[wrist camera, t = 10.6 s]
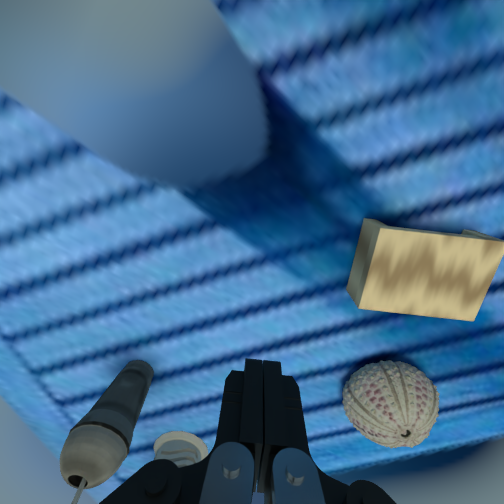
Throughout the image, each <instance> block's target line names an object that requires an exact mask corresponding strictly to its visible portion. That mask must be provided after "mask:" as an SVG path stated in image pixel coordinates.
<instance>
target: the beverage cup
mask: <svg viewBox="0 0 504 504" xmlns="http://www.w3.org/2000/svg"><path fill="white" fill-rule="evenodd" d="M153 374H154V372H153V369H152V367H151V366H150V365H149V364H148V363H146V362H144V361H140V360H134V361H131V362H129V363H128V364H127V365H126V367H125V368H124V369H123V370H122V371H121V372H120V373H119V374H118V376H117V377H116V378H115V379H114V381H113V382H112V383H111V385H110V386H109V387H108V388H107V390H106V391H105V392H104V393H103V395H102V396H101V397H100V398H99V400H98V401H97V402H96V403H95V405H94V406H93V407H92V408H91V410H90V411H89V412H88V413H87V414H86V415H85V416H84V417H83V418H82V419H81V420H80V421H79V422H78V423H77V424H76V425H75V426H74V427H73V428H72V429H71V430H70V433H69V435H68V437H67V439H66V441H65V444H64V446H63V448H62V451H61V455H60V471H61V474H62V476H63V478H64V480H65V481H66V482H67V484H69V485H70V486H72V487H74V488H77V489H78V490H77V492H76V495H75V497H74V499H73V501H72V503H71V504H77V502H78V500H79V498H80V495H81V493H82V491H83V489H89V488H93V487H96V486H98V485H100V484H102V483H103V482H105V481H106V480H107V479H109V478H110V477H111V476H112V475H113V474H114V473H115V472H116V471H117V470H118V468H119V467H120V466H121V464H122V462H123V461H124V460H125V458H126V457H127V455H128V453H129V447H130V445H131V441H132V437H133V431H134V428H135V425H136V423H137V420H138V417H139V415H140V412H141V409H142V406H143V404H144V401H145V398H146V396H147V393H148V390H149V387H150V385H151V381H152V377H153Z"/></svg>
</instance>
